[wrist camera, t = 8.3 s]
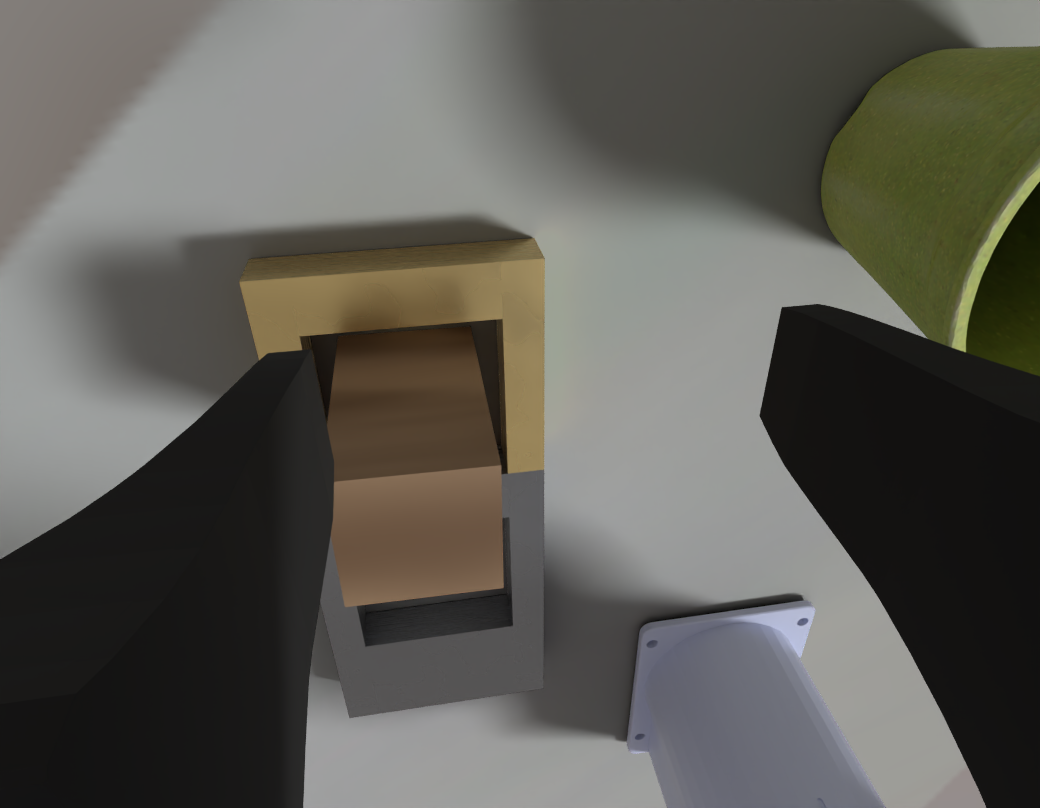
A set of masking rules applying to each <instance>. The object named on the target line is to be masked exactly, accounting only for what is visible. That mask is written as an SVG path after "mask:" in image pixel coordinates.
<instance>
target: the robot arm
mask: <svg viewBox="0 0 1040 808" xmlns="http://www.w3.org/2000/svg"><path fill="white" fill-rule="evenodd" d="M760 418H761V420H762V422H763V424H764V426H765V428H766V430H767V432H768V435H769V437H770V439H771V441H772V443H773V445H774V447H775V449H776V450H777V452H778V454H779V456H780V458H781V460H782V462H783V463H784V465H785V467H786V468H787V470H788V471H789V473H790V474H791V476H792V477H793V478H794V480H795V481H796V483H797V484H798V485H799V487H800V488H801V490H802V491H803V492H804V494H805V495H806V497H807V498H808V499H809V501H810V502H811V504H812V505H813V506H814V508H815V509H816V510H817V512H818V513H819V515H820V516H821V517H822V519H823V520H824V521H825V523H826V524H827V525H828V527H829V528H830V530H831V531H832V532H833V534H834V535H835V536H836V538H837V539H838V540H839V542H840V543H841V545H842V546H843V547H844V549H845V550H846V551H847V553H848V554H849V556H850V557H851V558H852V560H853V561H854V562H855V564H856V565H857V566H858V568H859V569H860V571H861V572H862V573H863V575H864V576H865V578H866V579H867V581H868V582H869V584H870V585H871V587H872V588H873V590H874V591H875V593H876V594H877V596H878V598H879V599H880V601H881V603H882V604H883V606H884V608H885V610H886V611H887V613H888V615H889V617H890V618H891V620H892V622H893V624H894V625H895V627H896V629H897V631H898V632H899V634H900V636H901V638H902V639H903V641H904V643H905V645H906V646H907V648H908V650H909V652H910V653H911V655H912V657H913V659H914V661H915V663H916V665H917V667H918V669H919V670H920V672H921V674H922V676H923V678H924V680H925V682H926V684H927V686H928V687H929V689H930V691H931V693H932V695H933V697H934V699H935V701H936V703H937V705H938V706H939V708H940V710H941V712H942V714H943V716H944V718H945V720H946V722H947V724H948V727H949V729H950V731H951V733H952V735H953V737H954V739H955V741H956V743H957V745H958V747H959V749H960V752H961V754H962V756H963V758H964V760H965V762H966V764H967V766H968V768H969V770H970V772H971V774H972V777H973V779H974V781H975V783H976V785H977V787H978V789H979V791H980V794H981V796H982V798H983V801H984V803H985V805H986V808H1040V376H1038V375H1034V374H1031V373H1028V372H1025V371H1022V370H1018V369H1015V368H1012V367H1009V366H1006V365H1003V364H999V363H996V362H993V361H990V360H987V359H984V358H981V357H978V356H975V355H972V354H969V353H966V352H963V351H960V350H958V349H955V348H952V347H949V346H946V345H943V344H941V343H938V342H935V341H932V340H929V339H927V338H924V337H921V336H918V335H916V334H913V333H910V332H907V331H904V330H902V329H899V328H896V327H893V326H890V325H888V324H885V323H882V322H879V321H876V320H873V319H871V318H868V317H864V316H861V315H858V314H855V313H852V312H849V311H845V310H842V309H838V308H834V307H830V306H825V305H821V304H814V305H803V306H792V307H782V309H781V314H780V319H779V324H778V329H777V333H776V338H775V343H774V348H773V353H772V358H771V363H770V368H769V372H768V377H767V382H766V387H765V392H764V397H763V402H762V407H761V411H760ZM333 506H334V458H333V453H332V449H331V444H330V439H329V434H328V429H327V424H326V419H325V414H324V409H323V404H322V400H321V395H320V390H319V385H318V380H317V375H316V370H315V365H314V360H313V356H312V351H311V349H308V350H297V351H286V352H274V353H267V354H266V355H265V356H264V357H263V358H261V359H260V360H259V361H258V362H257V363H256V364H255V365H254V366H253V367H252V368H251V369H250V370H249V371H248V372H247V373H246V374H245V375H244V376H243V377H242V378H241V379H240V380H239V381H238V382H237V383H236V384H234V385H233V386H232V387H231V388H230V389H229V390H228V391H227V392H226V393H225V394H224V395H223V396H222V397H221V398H220V399H219V400H218V401H217V402H216V403H215V404H214V405H213V406H212V407H211V408H209V409H208V410H207V411H206V412H205V413H204V414H203V415H202V416H201V417H200V418H199V419H198V420H197V421H196V422H195V423H193V424H192V425H191V426H190V427H189V428H188V429H186V430H185V431H184V432H183V433H182V434H180V435H179V436H178V437H177V438H176V439H175V440H173V441H172V442H171V443H170V444H169V445H168V446H166V447H165V448H164V449H163V450H162V451H160V452H159V453H158V454H157V455H156V456H155V457H153V458H152V459H151V460H150V461H149V462H148V463H146V464H145V465H144V466H142V467H141V468H140V469H139V470H137V471H136V472H135V473H133V474H132V475H131V476H129V477H128V478H127V479H125V480H124V481H123V482H121V483H120V484H119V485H117V486H116V487H115V488H113V489H112V490H110V491H109V492H107V493H106V494H104V495H103V496H102V497H100V498H99V499H97V500H96V501H94V502H93V503H91V504H90V505H89V506H87V507H86V508H84V509H83V510H81V511H80V512H78V513H77V514H75V515H74V516H72V517H71V518H69V519H67V520H66V521H64V522H63V523H61V524H59V525H58V526H56V527H54V528H53V529H51V530H49V531H47V532H46V533H44V534H42V535H41V536H39V537H37V538H36V539H34V540H32V541H31V542H29V543H27V544H25V545H24V546H22V547H20V548H19V549H17V550H15V551H14V552H12V553H10V554H9V555H7V556H5V557H4V558H2V559H0V808H303V796H304V770H305V745H306V725H307V706H308V687H309V674H310V666H311V657H312V648H313V642H314V636H315V630H316V624H317V617H318V611H319V605H320V599H321V593H322V587H323V580H324V574H325V568H326V562H327V556H328V549H329V543H330V536H331V530H332V523H333ZM814 614H815V608H814V607H813V605H812V604H811V602H809V601H796V602H789V603H782V604H775V605H768V606H762V607H755V608H748V609H741V610H734V611H727V612H720V613H713V614H706V615H699V616H692V617H685V618H678V619H671V620H664V621H657V622H651V623H647V624H645V625H644V626H643V627H642V628H641V629H640V632H639V641H638V649H637V658H636V667H635V675H634V684H633V693H632V701H631V710H630V719H629V727H628V736H627V747H628V750H629V752H631V753H634V754H636V753H643V752H649V754H650V757H651V760H652V763H653V766H654V769H655V772H656V775H657V778H658V782H659V785H660V788H661V791H662V794H663V797H664V800H665V803H666V806H667V808H886V807H885V805H884V804H883V802H882V800H881V798H880V797H879V795H878V793H877V791H876V790H875V788H874V786H873V784H872V783H871V781H870V779H869V778H868V776H867V774H866V772H865V771H864V769H863V767H862V765H861V764H860V762H859V760H858V759H857V757H856V755H855V753H854V752H853V750H852V748H851V746H850V745H849V743H848V741H847V740H846V738H845V736H844V734H843V733H842V731H841V729H840V727H839V726H838V724H837V722H836V721H835V719H834V717H833V715H832V714H831V712H830V710H829V708H828V707H827V705H826V703H825V702H824V700H823V698H822V696H821V695H820V693H819V691H818V689H817V688H816V686H815V684H814V683H813V681H812V679H811V677H810V676H809V674H808V672H807V670H806V669H805V667H804V665H803V664H802V662H801V660H800V658H801V655H802V652H803V649H804V646H805V642H806V639H807V636H808V633H809V630H810V627H811V623H812V620H813V617H814Z"/></svg>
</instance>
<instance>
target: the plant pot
mask: <svg viewBox="0 0 1040 808" xmlns="http://www.w3.org/2000/svg"><path fill="white" fill-rule="evenodd" d="M821 201H822V207H823V212H824V215H825V218H826V221H827V224H828V226H829V228H830V230H831V232H832V233H833V235H834V236H835V238H836V239H837V240H838V241H839V243H840V244H841V245H842V246H843V247H844V248H845V249H846V250H847V251H848V253H849V254H850V255H851V256H852V257H853V258H854V259H855V260H856V261H857V262H858V263H859V264H860V265H861V266H862V267H863V268H864V269H865V270H866V271H867V272H868V273H869V274H870V275H871V276H872V278H873V279H874V280H875V281H876V282H877V283H878V284H879V285H880V286H881V287H882V288H883V289H884V291H885V292H886V293H887V294H888V295H889V296H890V297H891V298H892V299H893V300H894V301H895V302H896V304H897V305H898V306H899V307H900V308H901V309H902V310H903V311H904V312H905V314H906V315H907V316H908V317H909V318H910V319H911V320H912V321H913V322H914V324H915V325H916V326H917V327H918V328H919V329H920V330H921V331H922V332H923V333H924V335H925V336H926V337H927V338H928V339H929V340H932V341H935V342H938V343H941V344H943V345H946V346H949V347H952V348H955V349H958V350H960V351H963V352H966V353H969V354H972V355H975V356H978V357H981V358H984V359H987V360H990V361H993V362H996V363H999V364H1003V365H1006V366H1009V367H1012V368H1015V369H1018V370H1022V371H1025V372H1028V373H1031V374H1034V375H1038V376H1040V46H1039V47H996V48H959V49H943V50H938V51H934V52H930V53H927V54H924V55H922V56H919V57H916V58H914V59H911V60H910V61H908V62H906V63H904V64H902V65H901V66H899V67H897V68H895V69H894V70H892V71H891V72H889V73H888V74H886V75H885V76H884V77H882V78H881V79H880V80H879V81H878V82H877V83H875V84H874V85H873V86H872V87H871V88H870V90H869V91H868V93H867V95H866V96H865V98H864V100H863V101H862V103H861V104H860V106H859V107H858V109H857V110H856V111H855V113H854V114H853V115H852V116H851V118H850V119H849V120H848V122H847V123H846V124H845V126H844V127H843V128H842V130H841V131H840V132H839V133H838V134H837V135H836V136H835V138H834V140H833V142H832V143H831V146H830V149H829V151H828V154H827V157H826V161H825V165H824V169H823V174H822V181H821Z"/></svg>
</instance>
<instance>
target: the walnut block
mask: <svg viewBox="0 0 1040 808" xmlns="http://www.w3.org/2000/svg"><path fill="white" fill-rule="evenodd" d="M327 429H328V434H329V439H330V444H331V449H332V453H333V458H334V506H333V523H332V530H331V540H332V545H333V550H334V555H335V560H336V565H337V570H338V575H339V580H340V585H341V590H342V595H343V600H344V605H345V607H352V606H360V605H368V604H376V603H384V602H393V601H401V600H409V599H417V598H425V597H434V596H442V595H450V594H458V593H466V592H475V591H483V590H491V589H499V588H504V581H503V530H502V479H501V462H500V457H499V453H498V448H497V444H496V439H495V435H494V430H493V426H492V421H491V417H490V412H489V408H488V403H487V398H486V394H485V389H484V385H483V380H482V376H481V371H480V367H479V362H478V358H477V353H476V349H475V344H474V340H473V335H472V330H471V326H467V327H453V328H439V329H426V330H412V331H398V332H384V333H371V334H357V335H343V336H338V340H337V348H336V357H335V365H334V373H333V381H332V389H331V398H330V406H329V414H328V422H327Z"/></svg>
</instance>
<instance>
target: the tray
mask: <svg viewBox="0 0 1040 808" xmlns="http://www.w3.org/2000/svg"><path fill="white" fill-rule="evenodd" d="M544 279H545V258H544V256H543V255H542V253H541V251H540V249H539V247H538V245H537V243H536V241H535V239H534V238H530V239H516V240H503V241H489V242H475V243H461V244H448V245H434V246H420V247H406V248H393V249H379V250H365V251H352V252H338V253H324V254H310V255H297V256H283V257H269V258H255V259H249V261H248V263H247V265H246V267H245V270H244V272H243V274H242V277H241V279H240V281H239V283H240V287H241V291H242V295H243V299H244V303H245V307H246V311H247V315H248V319H249V322H250V326H251V330H252V334H253V338H254V342H255V346H256V350H257V354H258V358H259V360H260V359H261V358H263V357H264V356H265V355H266V354H267V353H274V352H286V351H297V350H308V349H311V351H312V356H313V360H314V365H315V370H316V375H317V380H318V385H319V390H320V395H321V400H322V404H323V409H324V414H325V419H326V424H327V417H326V412H325V407H324V402H323V397H322V392H321V388H320V383H319V378H318V373H317V368H316V363H315V358H314V353H313V348H312V343H311V338H310V335H322V334H333V333H345V332H356V331H368V330H380V329H391V328H403V327H414V326H426V325H437V324H449V323H460V322H472V321H483V320H495V319H496V324H497V349H498V375H499V400H500V426H501V445H497V448H498V453H499V457H500V462H501V479H502V518H504V528H505V553H506V579H507V594H505V595H498V596H491V597H483V598H476V599H468V600H461V601H454V602H446V603H439V604H431V605H424V606H417V607H409V608H402V609H394V610H387V611H379V612H372V613H366V609H365V605H360V606H352V607H345V605H344V600H343V595H342V590H341V585H340V580H339V575H338V570H337V565H336V560H335V555H334V550H333V545H332V540H331V536H330V543H329V549H328V556H327V562H326V568H325V574H324V580H323V587H322V593H321V599H320V603H321V607H322V611H323V615H324V619H325V623H326V627H327V631H328V635H329V639H330V643H331V647H332V651H333V655H334V658H335V662H336V666H337V670H338V674H339V678H340V682H341V686H342V690H343V694H344V698H345V702H346V706H347V710H348V714H349V718H353V717H359V716H366V715H373V714H379V713H386V712H392V711H399V710H405V709H412V708H418V707H425V706H432V705H438V704H445V703H451V702H458V701H464V700H471V699H478V698H484V697H491V696H497V695H504V694H510V693H517V692H523V691H530V690H537V689H543V688H544Z"/></svg>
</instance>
